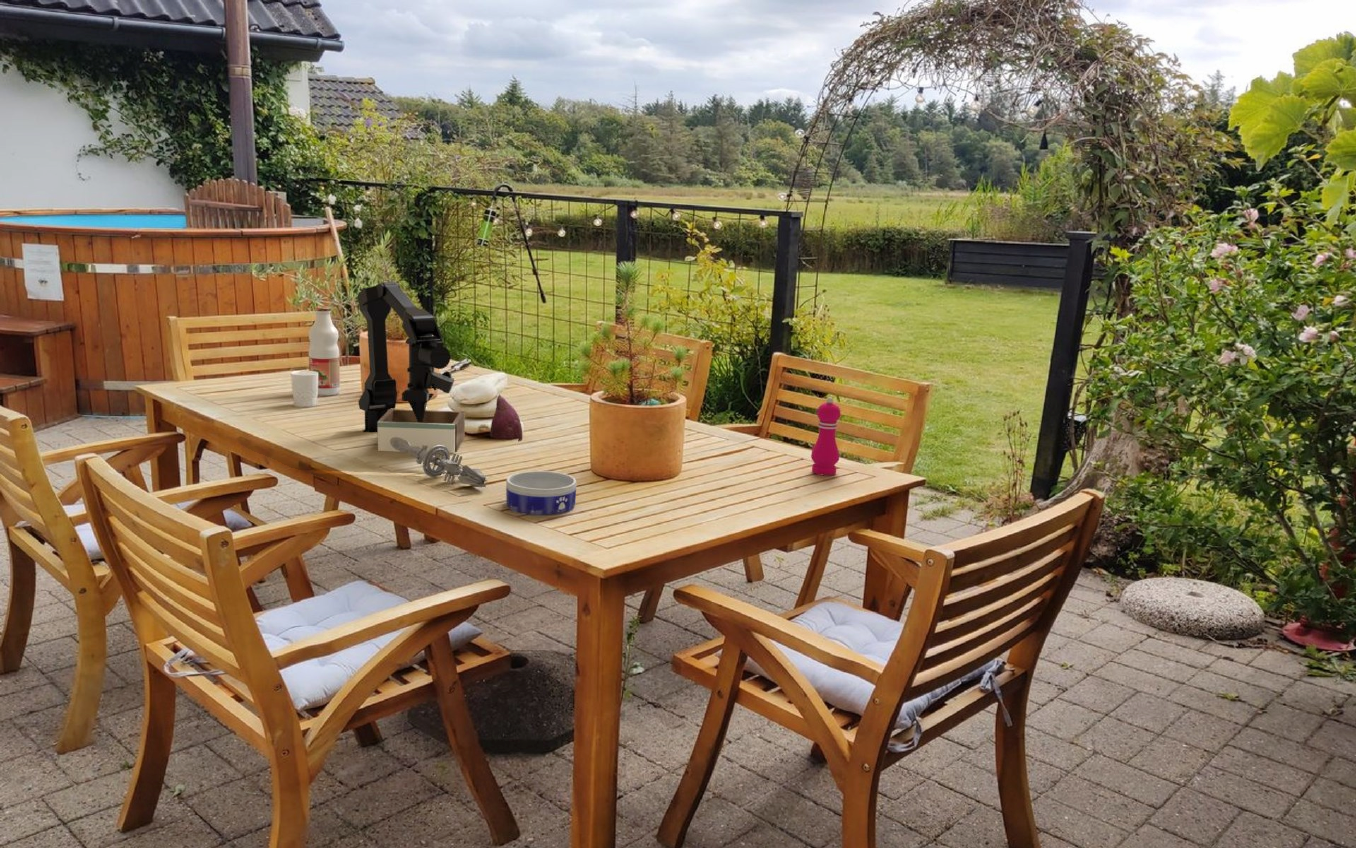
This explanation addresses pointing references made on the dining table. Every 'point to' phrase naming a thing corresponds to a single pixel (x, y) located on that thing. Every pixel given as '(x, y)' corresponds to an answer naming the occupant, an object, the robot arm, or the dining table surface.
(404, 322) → the robot arm
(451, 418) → the crate
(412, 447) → the spaceship
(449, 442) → the tailgate
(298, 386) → the white cup
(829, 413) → the pepper mill
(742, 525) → the dining table surface
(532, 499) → the dog bowl
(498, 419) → the vegetable
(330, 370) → the fruit juice
